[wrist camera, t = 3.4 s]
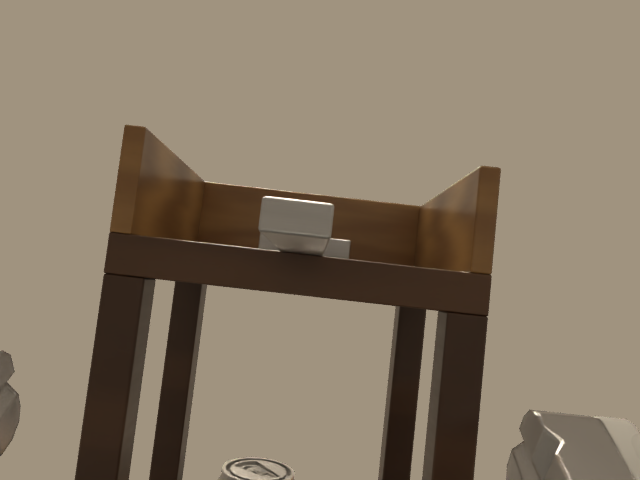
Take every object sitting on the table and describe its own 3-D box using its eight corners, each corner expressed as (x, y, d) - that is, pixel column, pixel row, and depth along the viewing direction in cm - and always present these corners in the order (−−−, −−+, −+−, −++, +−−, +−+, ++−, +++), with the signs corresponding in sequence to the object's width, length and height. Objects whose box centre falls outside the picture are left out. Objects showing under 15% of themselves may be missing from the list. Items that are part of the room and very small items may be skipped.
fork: (385, 245, 12) (390, 200, 12) (202, 225, 12) (207, 179, 12) (341, 266, 30) (343, 248, 30) (268, 258, 30) (270, 240, 30)
